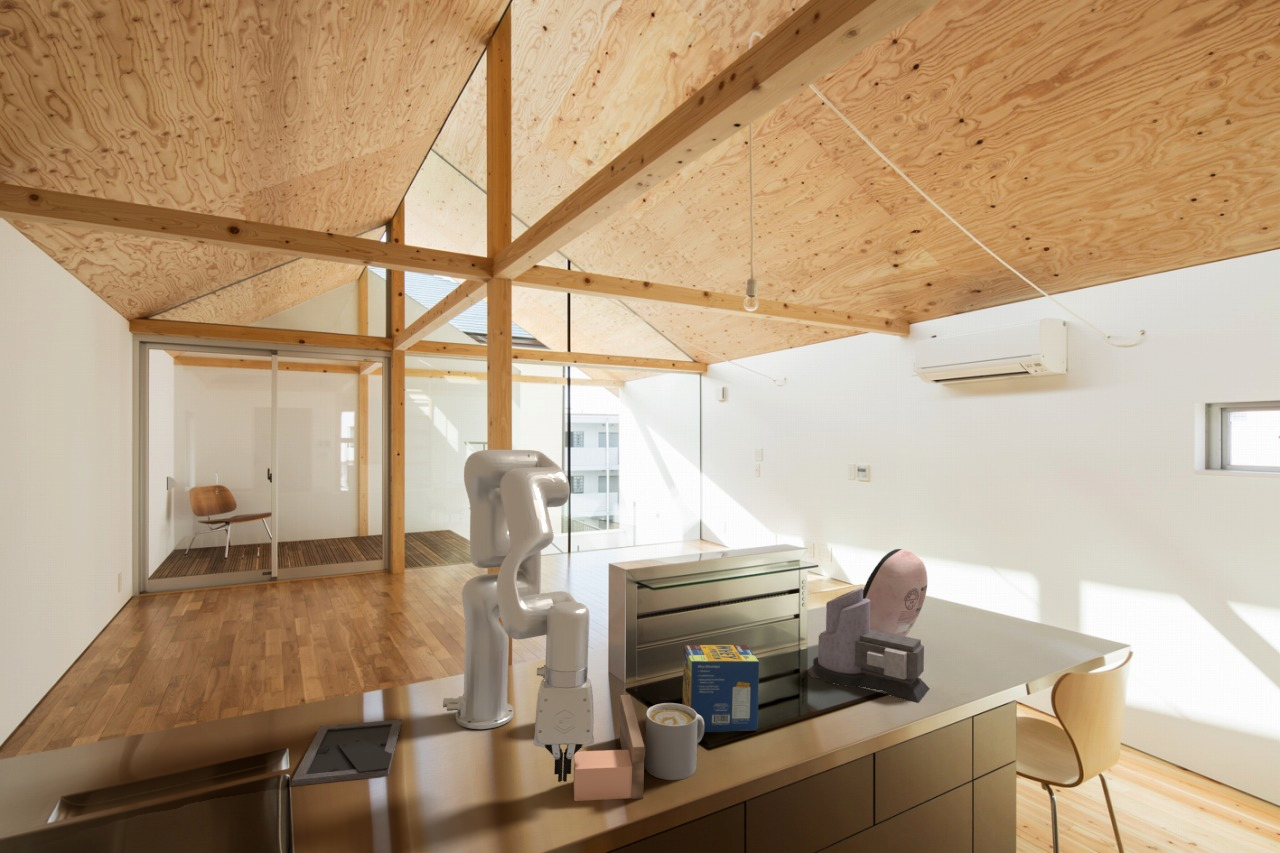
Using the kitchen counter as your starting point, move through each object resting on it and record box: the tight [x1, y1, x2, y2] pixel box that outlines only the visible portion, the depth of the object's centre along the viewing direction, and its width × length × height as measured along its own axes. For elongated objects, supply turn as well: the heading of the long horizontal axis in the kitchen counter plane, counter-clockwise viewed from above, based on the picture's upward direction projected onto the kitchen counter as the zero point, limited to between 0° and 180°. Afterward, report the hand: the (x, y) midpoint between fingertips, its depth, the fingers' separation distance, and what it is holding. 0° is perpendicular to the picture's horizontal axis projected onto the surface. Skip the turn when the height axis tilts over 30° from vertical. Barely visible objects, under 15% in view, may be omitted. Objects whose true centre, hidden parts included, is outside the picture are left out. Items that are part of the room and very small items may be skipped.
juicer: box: [807, 587, 930, 704], centre depth 166 cm, size 30×16×24 cm, turn 52°
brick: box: [573, 749, 632, 802], centre depth 111 cm, size 10×6×6 cm, turn 97°
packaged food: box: [863, 548, 928, 637], centre depth 199 cm, size 22×20×30 cm
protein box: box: [682, 644, 760, 733], centre depth 139 cm, size 10×15×16 cm
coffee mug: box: [644, 702, 705, 781], centre depth 121 cm, size 13×10×10 cm
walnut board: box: [619, 694, 645, 800], centre depth 120 cm, size 2×22×9 cm, turn 7°
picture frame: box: [291, 719, 403, 787], centre depth 122 cm, size 16×2×21 cm
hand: (562, 777), depth 110 cm, fingers closed
